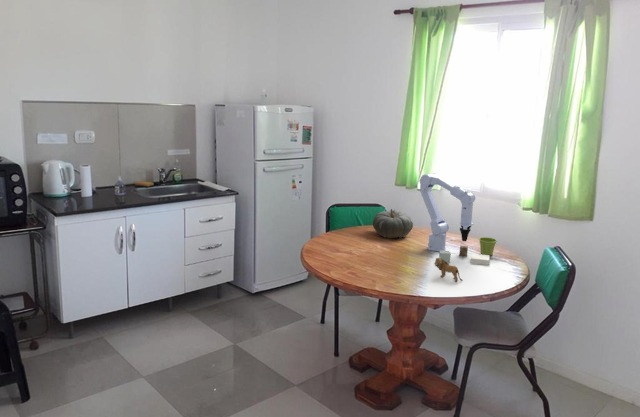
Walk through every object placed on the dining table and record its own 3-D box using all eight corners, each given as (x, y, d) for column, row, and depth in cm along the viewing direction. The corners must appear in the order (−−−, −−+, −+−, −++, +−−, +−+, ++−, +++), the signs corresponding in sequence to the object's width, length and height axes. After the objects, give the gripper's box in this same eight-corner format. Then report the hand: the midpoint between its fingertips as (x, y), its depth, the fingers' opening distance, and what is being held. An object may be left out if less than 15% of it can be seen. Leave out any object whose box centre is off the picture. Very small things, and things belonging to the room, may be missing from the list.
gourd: (399, 224, 327) (400, 200, 320) (420, 240, 306) (422, 214, 299) (366, 231, 318) (366, 207, 311) (385, 248, 297) (386, 222, 290)
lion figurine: (431, 275, 239) (433, 258, 237) (436, 273, 243) (438, 255, 241) (460, 283, 230) (462, 264, 228) (465, 280, 234) (466, 262, 232)
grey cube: (440, 262, 260) (441, 253, 259) (438, 259, 265) (439, 250, 264) (450, 262, 260) (450, 253, 258) (448, 259, 264) (448, 250, 263)
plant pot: (496, 257, 269) (498, 242, 267) (478, 256, 270) (479, 241, 269) (494, 252, 278) (495, 238, 276) (476, 251, 279) (478, 236, 278)
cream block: (470, 263, 259) (471, 258, 259) (471, 258, 268) (471, 253, 267) (488, 265, 257) (489, 260, 256) (488, 260, 265) (489, 255, 264)
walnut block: (459, 256, 271) (460, 247, 270) (459, 253, 275) (460, 245, 274) (466, 256, 270) (467, 248, 269) (467, 254, 274) (467, 246, 272)
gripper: (473, 218, 259) (471, 243, 262) (474, 213, 273) (472, 236, 276) (459, 217, 262) (458, 242, 265) (461, 211, 275) (459, 235, 278)
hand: (464, 239), depth 270 cm, fingers open, 7 cm apart
